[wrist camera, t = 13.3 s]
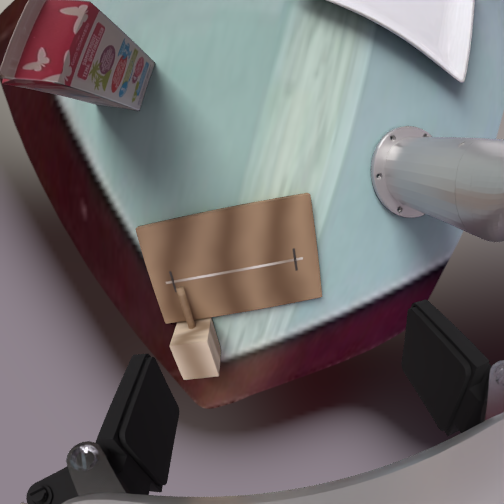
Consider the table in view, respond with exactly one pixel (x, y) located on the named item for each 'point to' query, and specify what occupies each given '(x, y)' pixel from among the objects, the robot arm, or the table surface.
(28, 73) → the juice carton
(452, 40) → the square plate
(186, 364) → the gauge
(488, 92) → the table surface
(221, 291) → the board
